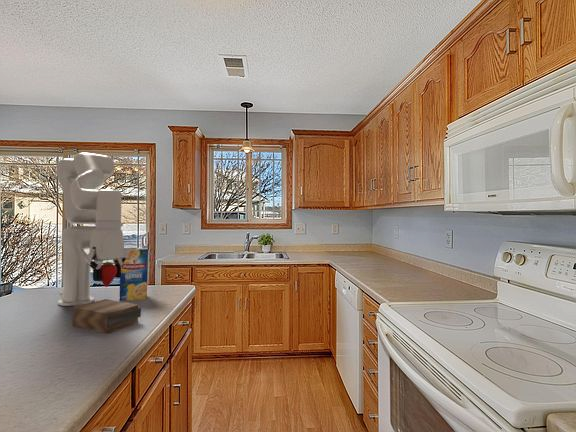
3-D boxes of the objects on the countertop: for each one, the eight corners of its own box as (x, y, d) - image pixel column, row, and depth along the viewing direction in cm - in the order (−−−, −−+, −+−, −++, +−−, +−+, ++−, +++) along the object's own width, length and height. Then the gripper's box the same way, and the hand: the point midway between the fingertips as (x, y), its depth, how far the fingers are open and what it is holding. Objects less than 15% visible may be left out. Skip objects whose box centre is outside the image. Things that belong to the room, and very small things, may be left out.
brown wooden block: (72, 325, 107) (73, 307, 107) (105, 315, 118) (105, 299, 118) (109, 333, 101) (109, 314, 101) (140, 322, 112) (141, 305, 112)
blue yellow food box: (147, 298, 144) (148, 248, 144) (119, 301, 139) (120, 249, 139) (146, 295, 150) (147, 247, 150) (119, 297, 145) (120, 248, 145)
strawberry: (117, 283, 114) (117, 255, 115) (117, 288, 108) (117, 258, 108) (97, 285, 112) (98, 256, 112) (96, 289, 105) (97, 258, 105)
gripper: (122, 225, 119) (121, 274, 119) (75, 226, 103) (74, 282, 103) (137, 226, 117) (136, 276, 116) (92, 226, 101) (90, 284, 100)
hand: (107, 278), depth 110 cm, fingers closed on strawberry, 6 cm apart
